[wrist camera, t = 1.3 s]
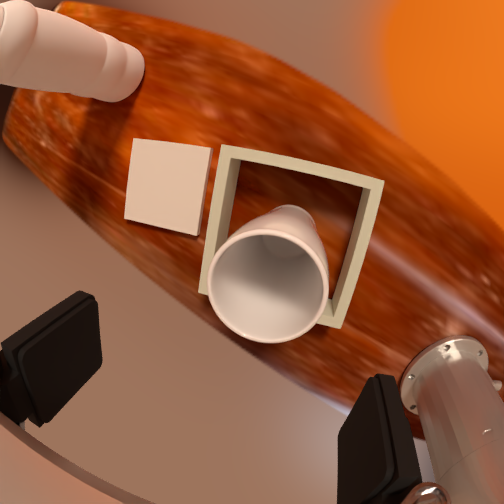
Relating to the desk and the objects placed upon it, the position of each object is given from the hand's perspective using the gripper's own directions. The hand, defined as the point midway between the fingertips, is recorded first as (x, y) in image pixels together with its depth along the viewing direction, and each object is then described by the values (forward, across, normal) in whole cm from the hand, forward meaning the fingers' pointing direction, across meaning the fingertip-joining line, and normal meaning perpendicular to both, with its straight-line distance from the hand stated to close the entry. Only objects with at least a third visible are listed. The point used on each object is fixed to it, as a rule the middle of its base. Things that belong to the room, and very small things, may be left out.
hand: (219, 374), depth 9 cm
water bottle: (+23, +21, -14) cm, 34 cm away
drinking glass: (+23, -1, 0) cm, 23 cm away
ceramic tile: (+23, +13, -2) cm, 26 cm away
